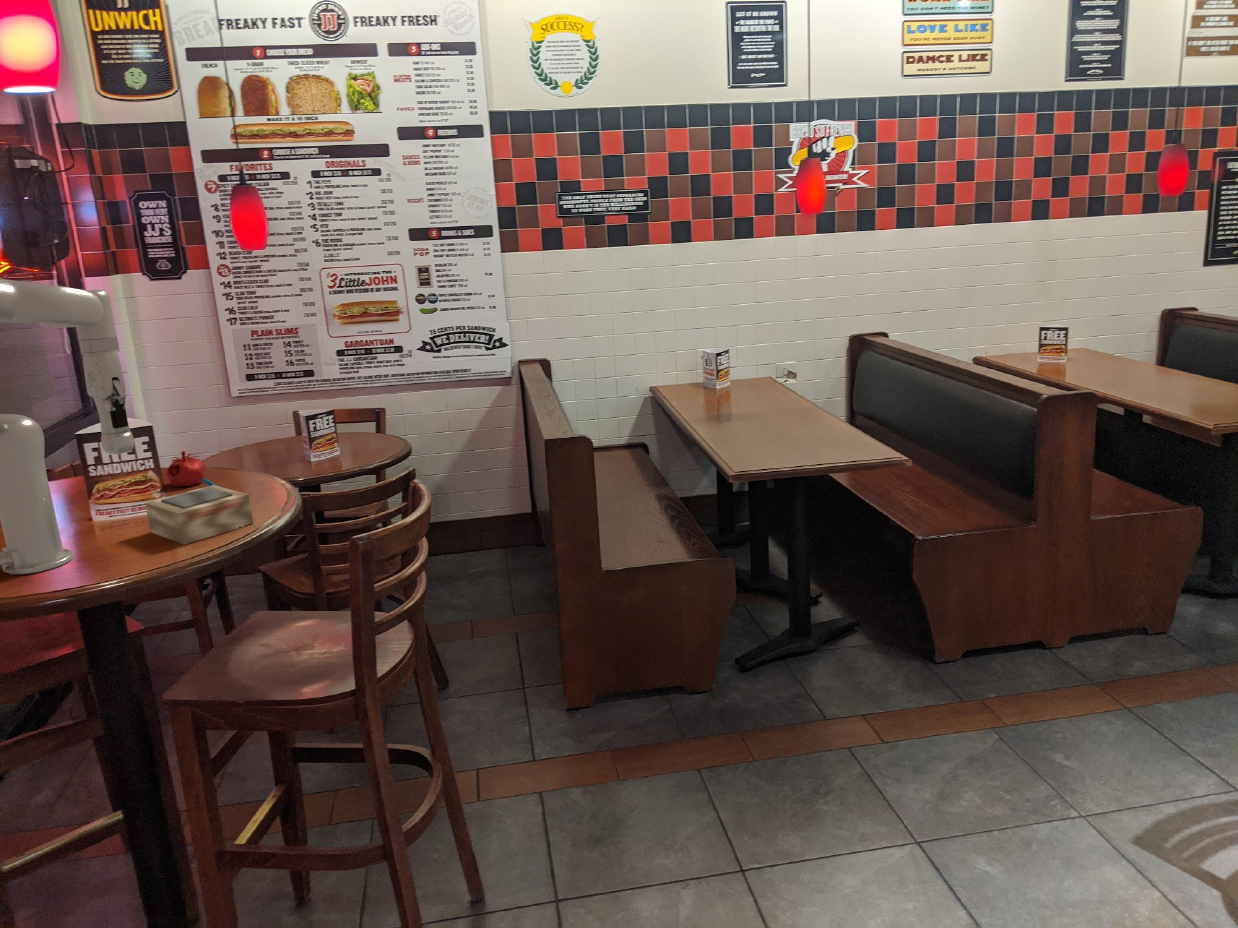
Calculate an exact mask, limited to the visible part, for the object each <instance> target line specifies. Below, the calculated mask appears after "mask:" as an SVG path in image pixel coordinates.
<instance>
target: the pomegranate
mask: <svg viewBox="0 0 1238 928" xmlns="http://www.w3.org/2000/svg"><path fill="white" fill-rule="evenodd" d="M199 457H201V456H200V455H194V453H189V454H187V455H186V451H185V450H182V451H181V457H178V456H173V457H171V459H172V460H171V461H170V463H171V464H170V465H169V466H168V467H167V468H166V470H165V476H166V478H167V480H168V482H169V483H170V485H172V486H175V487H177V488H178V487H179V488H182V487H183V488H185V487H193V486H196V485H200V484H202V483H204V482H203V481H202V479H203V478H205V479H206V471H207V468H206V465H205V464H204V462H203V461H202V459H200V458H199Z"/></svg>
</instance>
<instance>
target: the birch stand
mask: <svg viewBox="0 0 1238 928" xmlns="http://www.w3.org/2000/svg"><path fill="white" fill-rule="evenodd" d="M215 485H216V484H215ZM215 485H212V486H209V485H207V486H204V487H201V488H197V489H194V490H189V491H186V492H185V491H184V492H182V493H177V494H174V495H171V496H169V495H168V496H166V497H162V498H158V499H153V500H151V501H147V502H144V504H145V510H146V515H147V520H148V524H149V530H150V531H149V532H150V533H152V534H154V535H157V536H159V537H163V538H165V539H168V540H170V541H174V542H177V543H179V544H182V545H188V544H192V543H194V542H198V541H201V540H204V539H207V538H211V537H214V536H218V535H222V534H225V533H228V532H231V531H234V529H235V530H238V529H240V528H239V527H241V528H244V526H245V525H248V524H251V525H254V520H253V519H254V518H253V512H252V505H251V500H250V494H249V493H245V492H240V491H236V490H233V489H230V488H225V487H224V488H222V487H223V486H222V487H221V486H218V485H217V486H215ZM248 526H249V525H248ZM245 527H246V526H245ZM221 533H222V534H221Z"/></svg>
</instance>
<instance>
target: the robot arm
mask: <svg viewBox="0 0 1238 928" xmlns="http://www.w3.org/2000/svg"><path fill="white" fill-rule="evenodd" d="M0 323H7V324H9V323H13V324H14V323H16V324H17V323H19V324H21V323H38V324H40V325H42V326H45V327H48V328H52V329H53V328H55V329H56V328H57V329H58V328H59V329H60V328H76V332H77V333H76V334H77V337H78V343H79V347H80V354H81V355H82V357H83V359H82V360H83V361H82V362H83V372H84V379H85V386H86V387H85V388H86V393H87V395H88V396H89V397H91V398H93V395H92V392H91V391H92V387H93V386H94V387H95V388H96V390H97V392H98V397H99V398H101V399H106V398H107V397H108V402H109V405H110V408H111V410H112V411H110V416H111V421H112V426H113V428H114V429H117V428H122V427H127V426H128V424H129V421H128V415H127V411H126V409H127V407H126V406H127V405H126V398H127V388H126V387H127V386H126V381H125V376H124V373H123V372H124V371H123V368H122V364H121V361H120V357H119V354H118V352H120V346H119V345H120V344H119V339H118V334H117V329H116V323H115V318H114V313H113V307H112V301H111V295H110V293H109V292H108V291H107V290H105V289H79V288H73V287H69V286H63V285H53V284H47V283H46V284H44V283H38V282H37V283H36V282H29V281H28V282H27V281H21V280H13V279H3V278H0ZM113 392H116V394H117V396H112V397H111V393H113ZM113 399H115V402H113ZM45 461H46V460H45V434H44V431H43V429H42V427H41V425H40V424H38V423H37V421H35V420H34V419H32V418H30V417H28V416H25V415H21V414H13V413H0V524H1V529H2V533H3V538H4V541H5V547H2V548H1V549H2V552H0V567H1V569H2V572H3V573H5V572H6V573H5V574H7V573H9V574H8V575H27V574H34V573H39V572H44V571H48V570H51V569H54V568H57V567H60V566H63V565H64V564H67V563H69V562H70V561H72V559H73V558H74V552H73V550H71V549H69V548H64V547H63V542H62V539H61V538H62V537H61V534H60V529H59V525H58V524H59V523H58V519H57V516H56V511H55V507H54V502H53V497H52V493H51V488H50V484H49V480H48V474H47V470H46V462H45Z"/></svg>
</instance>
